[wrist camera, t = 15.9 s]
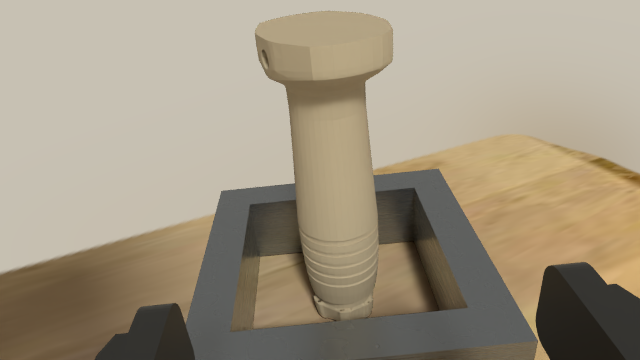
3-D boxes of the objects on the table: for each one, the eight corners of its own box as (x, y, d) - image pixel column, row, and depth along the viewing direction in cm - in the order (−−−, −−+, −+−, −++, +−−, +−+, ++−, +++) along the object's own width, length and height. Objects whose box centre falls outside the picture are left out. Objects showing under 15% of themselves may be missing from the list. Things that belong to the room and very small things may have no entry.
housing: (194, 440, 20) (171, 378, 18) (232, 240, 32) (221, 191, 30) (524, 407, 20) (537, 340, 18) (436, 220, 32) (438, 168, 30)
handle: (356, 259, 29) (338, 6, 22) (416, 328, 24) (420, 27, 16) (284, 286, 27) (238, 24, 20) (332, 367, 22) (293, 54, 15)
